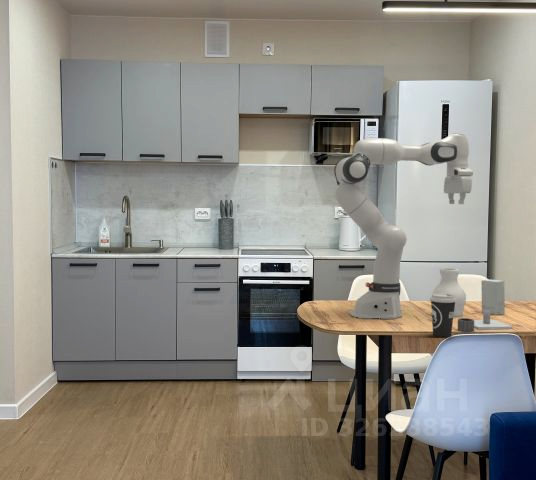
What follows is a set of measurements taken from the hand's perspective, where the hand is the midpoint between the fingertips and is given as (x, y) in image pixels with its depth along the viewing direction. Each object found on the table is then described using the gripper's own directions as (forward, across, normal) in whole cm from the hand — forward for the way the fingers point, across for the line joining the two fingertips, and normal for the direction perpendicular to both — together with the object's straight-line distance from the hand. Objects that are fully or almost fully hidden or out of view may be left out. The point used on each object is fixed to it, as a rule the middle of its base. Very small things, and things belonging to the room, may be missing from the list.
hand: (456, 204), depth 280 cm
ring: (+48, +33, -10) cm, 59 cm away
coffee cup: (+48, +41, -23) cm, 67 cm away
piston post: (+48, +26, +2) cm, 55 cm away
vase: (+48, +1, -3) cm, 48 cm away
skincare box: (+48, 0, +18) cm, 52 cm away
